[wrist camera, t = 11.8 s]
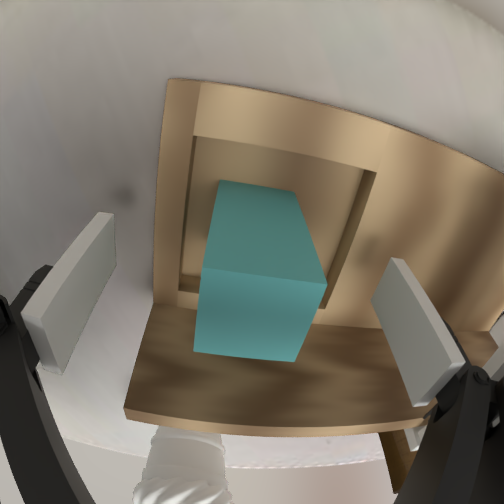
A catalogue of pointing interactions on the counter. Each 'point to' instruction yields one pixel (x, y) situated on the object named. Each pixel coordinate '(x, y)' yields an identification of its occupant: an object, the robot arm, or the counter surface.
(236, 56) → the counter surface
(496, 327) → the milk bottle
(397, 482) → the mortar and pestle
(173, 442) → the soft serve ice cream cone
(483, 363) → the brown piece
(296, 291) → the block
